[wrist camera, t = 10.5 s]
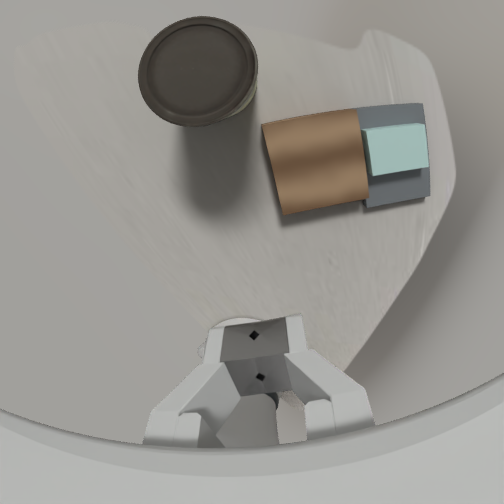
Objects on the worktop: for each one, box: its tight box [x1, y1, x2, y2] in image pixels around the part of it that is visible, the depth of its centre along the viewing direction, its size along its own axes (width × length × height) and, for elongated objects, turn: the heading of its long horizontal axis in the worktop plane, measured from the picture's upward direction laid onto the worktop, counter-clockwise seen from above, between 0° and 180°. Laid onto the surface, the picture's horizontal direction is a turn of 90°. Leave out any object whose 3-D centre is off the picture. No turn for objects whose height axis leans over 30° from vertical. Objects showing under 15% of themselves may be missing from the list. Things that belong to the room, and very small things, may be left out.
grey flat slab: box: [352, 103, 430, 208], centre depth 35 cm, size 14×11×2 cm
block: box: [361, 123, 429, 176], centre depth 33 cm, size 6×9×2 cm, turn 105°
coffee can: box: [138, 16, 258, 127], centre depth 26 cm, size 10×10×14 cm
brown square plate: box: [261, 109, 369, 215], centre depth 35 cm, size 12×12×3 cm
